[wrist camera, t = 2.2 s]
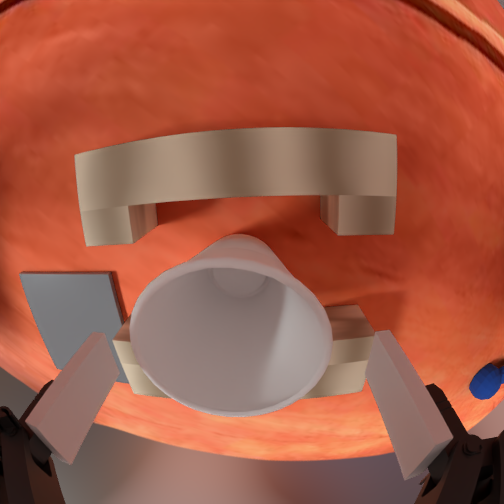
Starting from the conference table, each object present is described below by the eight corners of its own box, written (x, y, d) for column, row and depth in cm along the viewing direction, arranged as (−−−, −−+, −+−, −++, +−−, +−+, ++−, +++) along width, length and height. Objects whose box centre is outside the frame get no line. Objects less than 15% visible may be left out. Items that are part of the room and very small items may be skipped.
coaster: (59, 365, 28) (56, 368, 27) (21, 271, 23) (18, 273, 23) (145, 382, 27) (143, 385, 27) (111, 271, 23) (108, 274, 22)
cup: (319, 287, 23) (359, 377, 13) (222, 335, 25) (206, 431, 14) (262, 185, 20) (269, 210, 10) (158, 248, 22) (92, 317, 12)
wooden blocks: (148, 361, 26) (134, 393, 21) (108, 153, 19) (74, 154, 15) (348, 357, 26) (361, 391, 21) (367, 138, 19) (396, 134, 14)
